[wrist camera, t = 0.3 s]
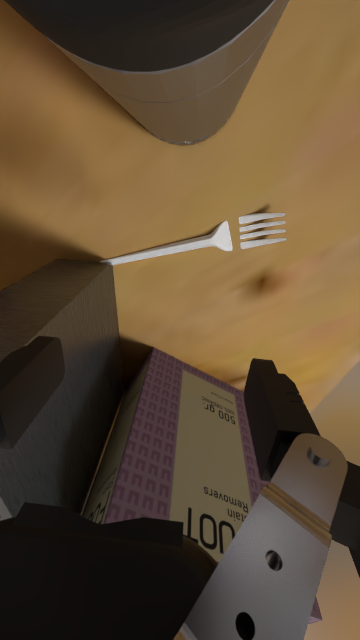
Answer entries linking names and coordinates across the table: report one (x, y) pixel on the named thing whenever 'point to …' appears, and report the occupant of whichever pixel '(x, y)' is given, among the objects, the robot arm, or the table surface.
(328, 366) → the table surface
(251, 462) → the box
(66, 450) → the box
